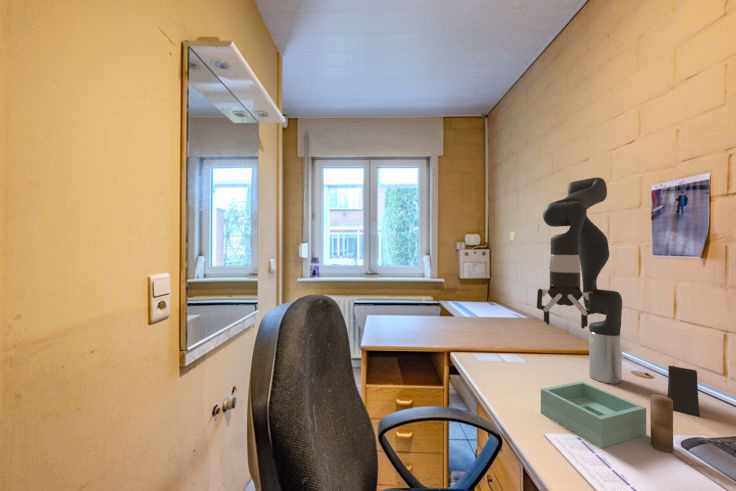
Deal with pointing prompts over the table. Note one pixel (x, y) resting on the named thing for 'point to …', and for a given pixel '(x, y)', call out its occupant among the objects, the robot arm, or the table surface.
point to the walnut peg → (661, 423)
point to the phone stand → (683, 390)
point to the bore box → (594, 413)
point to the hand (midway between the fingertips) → (564, 325)
